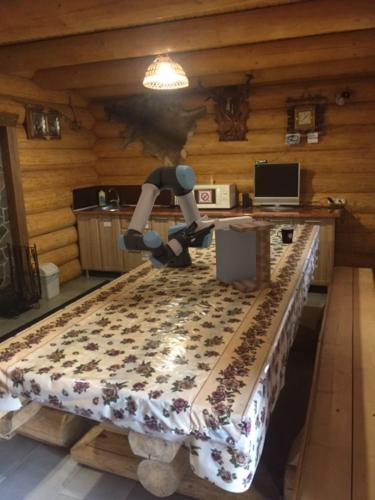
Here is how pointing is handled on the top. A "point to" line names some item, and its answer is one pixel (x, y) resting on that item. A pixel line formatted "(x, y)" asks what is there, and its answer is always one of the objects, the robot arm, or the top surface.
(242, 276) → the slate podium
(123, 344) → the top surface
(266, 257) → the walnut stand
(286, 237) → the coffee mug
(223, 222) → the pale wooden bar
